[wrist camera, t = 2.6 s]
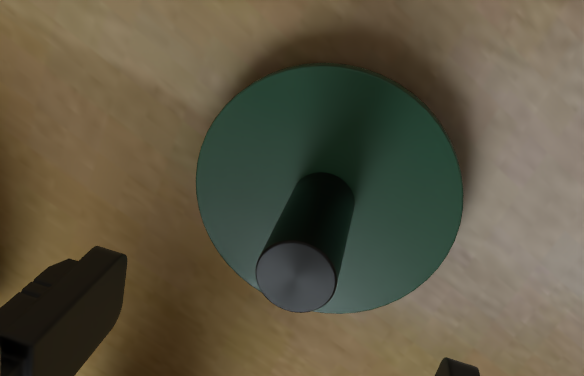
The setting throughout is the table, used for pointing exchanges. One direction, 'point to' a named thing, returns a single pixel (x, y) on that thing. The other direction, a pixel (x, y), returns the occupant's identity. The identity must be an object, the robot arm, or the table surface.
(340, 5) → the table surface
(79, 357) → the robot arm
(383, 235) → the lid
